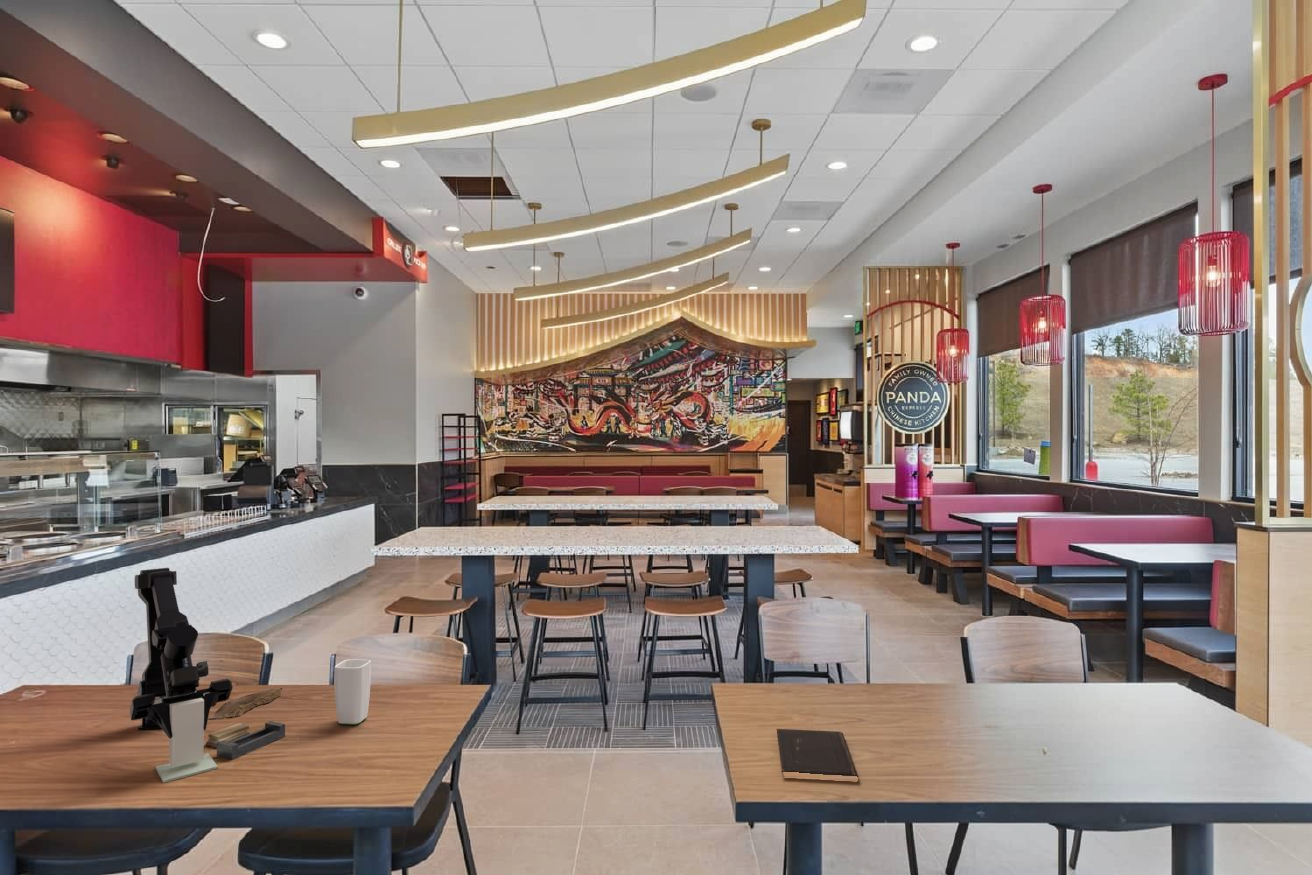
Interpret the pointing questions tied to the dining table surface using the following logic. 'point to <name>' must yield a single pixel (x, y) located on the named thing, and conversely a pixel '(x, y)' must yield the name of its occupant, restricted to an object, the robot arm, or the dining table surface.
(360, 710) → the cup
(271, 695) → the carved relief fragment
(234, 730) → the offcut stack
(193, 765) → the sage mat
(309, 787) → the dining table surface
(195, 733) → the tall block
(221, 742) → the slot rack
